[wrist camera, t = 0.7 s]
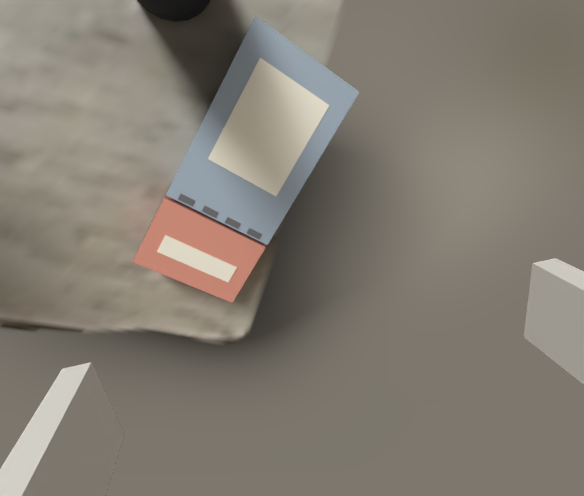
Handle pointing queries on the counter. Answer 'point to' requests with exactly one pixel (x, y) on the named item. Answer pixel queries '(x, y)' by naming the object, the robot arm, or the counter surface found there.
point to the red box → (198, 250)
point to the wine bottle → (175, 8)
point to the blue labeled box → (262, 134)
